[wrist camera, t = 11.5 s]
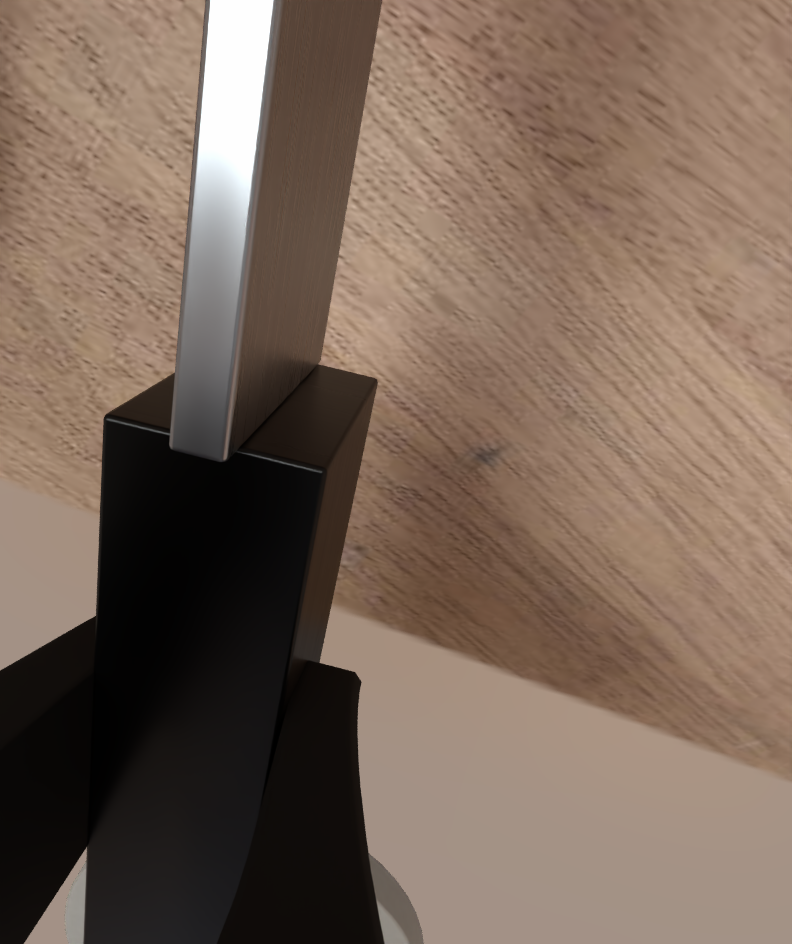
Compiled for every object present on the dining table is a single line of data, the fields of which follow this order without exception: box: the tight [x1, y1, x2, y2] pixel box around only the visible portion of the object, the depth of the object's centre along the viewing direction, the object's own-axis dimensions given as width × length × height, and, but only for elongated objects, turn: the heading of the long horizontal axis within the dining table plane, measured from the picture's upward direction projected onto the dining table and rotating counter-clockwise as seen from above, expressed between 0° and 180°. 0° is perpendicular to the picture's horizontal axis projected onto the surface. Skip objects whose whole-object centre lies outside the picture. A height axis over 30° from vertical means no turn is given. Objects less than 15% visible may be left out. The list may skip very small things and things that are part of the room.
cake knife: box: [83, 0, 382, 944], centre depth 6 cm, size 20×2×3 cm, turn 168°
